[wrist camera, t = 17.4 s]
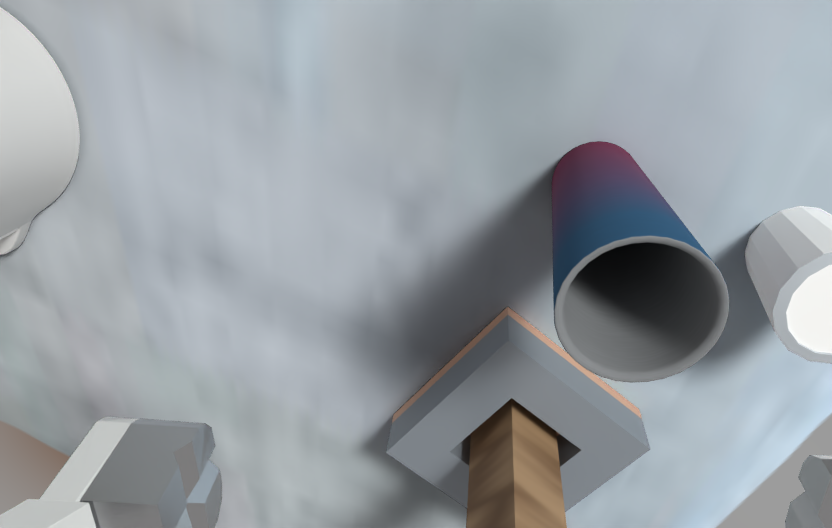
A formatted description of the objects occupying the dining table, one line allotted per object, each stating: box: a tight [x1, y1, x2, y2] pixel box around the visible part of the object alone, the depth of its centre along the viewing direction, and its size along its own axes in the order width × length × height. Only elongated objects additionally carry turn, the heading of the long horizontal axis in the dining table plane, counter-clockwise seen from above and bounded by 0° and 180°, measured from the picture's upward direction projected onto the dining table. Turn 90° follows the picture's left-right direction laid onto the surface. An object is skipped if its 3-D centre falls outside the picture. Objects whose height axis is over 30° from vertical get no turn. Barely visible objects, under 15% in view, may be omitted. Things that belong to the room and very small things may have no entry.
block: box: [466, 398, 567, 528], centre depth 41 cm, size 4×4×18 cm
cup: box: [552, 142, 729, 382], centre depth 35 cm, size 7×7×15 cm
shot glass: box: [745, 206, 832, 364], centre depth 40 cm, size 7×7×7 cm
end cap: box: [386, 307, 650, 512], centre depth 48 cm, size 12×12×4 cm
